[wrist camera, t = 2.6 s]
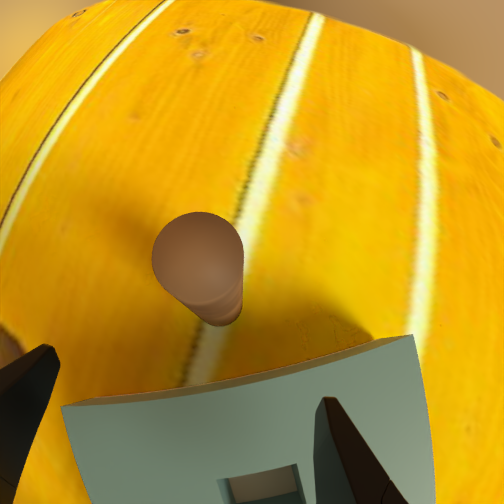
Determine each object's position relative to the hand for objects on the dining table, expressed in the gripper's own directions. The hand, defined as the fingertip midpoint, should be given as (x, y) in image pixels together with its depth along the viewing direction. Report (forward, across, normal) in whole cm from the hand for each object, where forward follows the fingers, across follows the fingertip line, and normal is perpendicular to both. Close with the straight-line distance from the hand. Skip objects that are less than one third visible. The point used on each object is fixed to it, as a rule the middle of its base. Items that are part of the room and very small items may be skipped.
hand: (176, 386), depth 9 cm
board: (+3, -4, +13) cm, 14 cm away
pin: (+11, 0, +5) cm, 12 cm away
